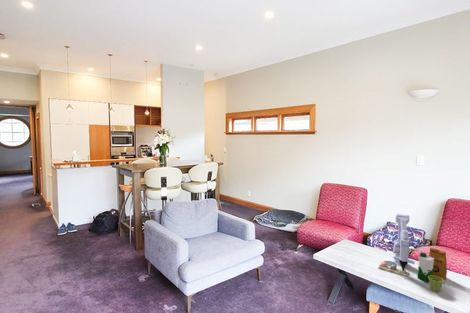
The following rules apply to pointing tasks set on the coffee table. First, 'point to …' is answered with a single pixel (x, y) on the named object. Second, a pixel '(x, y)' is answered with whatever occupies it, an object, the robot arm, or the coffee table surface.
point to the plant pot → (435, 283)
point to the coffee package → (439, 263)
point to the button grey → (393, 267)
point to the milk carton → (425, 267)
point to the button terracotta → (384, 264)
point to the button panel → (393, 270)
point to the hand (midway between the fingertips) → (403, 269)
